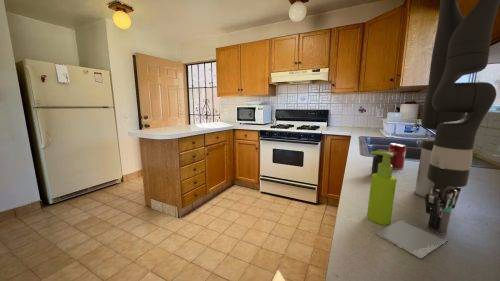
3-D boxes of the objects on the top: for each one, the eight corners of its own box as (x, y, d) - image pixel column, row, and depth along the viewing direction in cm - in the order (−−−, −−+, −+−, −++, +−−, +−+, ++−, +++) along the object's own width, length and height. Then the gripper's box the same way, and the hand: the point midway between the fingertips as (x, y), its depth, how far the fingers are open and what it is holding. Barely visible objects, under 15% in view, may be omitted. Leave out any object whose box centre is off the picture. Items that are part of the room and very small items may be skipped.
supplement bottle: (391, 177, 95) (395, 151, 93) (381, 179, 92) (384, 152, 90) (377, 172, 101) (380, 148, 99) (367, 174, 99) (370, 149, 96)
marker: (431, 223, 59) (436, 200, 57) (449, 231, 55) (454, 207, 54) (424, 227, 57) (429, 204, 56) (442, 236, 54) (448, 211, 52)
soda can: (389, 168, 107) (392, 145, 105) (384, 164, 114) (387, 142, 112) (405, 169, 105) (409, 146, 103) (400, 165, 112) (403, 143, 110)
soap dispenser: (365, 210, 66) (372, 148, 62) (391, 218, 62) (401, 152, 58) (361, 218, 61) (368, 152, 58) (389, 227, 57) (399, 156, 53)
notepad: (402, 221, 60) (403, 219, 60) (447, 241, 52) (448, 239, 51) (375, 234, 54) (375, 231, 54) (420, 259, 46) (421, 257, 45)
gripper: (443, 157, 59) (433, 213, 63) (417, 164, 53) (407, 225, 56) (480, 164, 53) (467, 226, 56) (456, 173, 46) (442, 242, 49)
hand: (437, 225), depth 56 cm, fingers closed on marker, 3 cm apart
